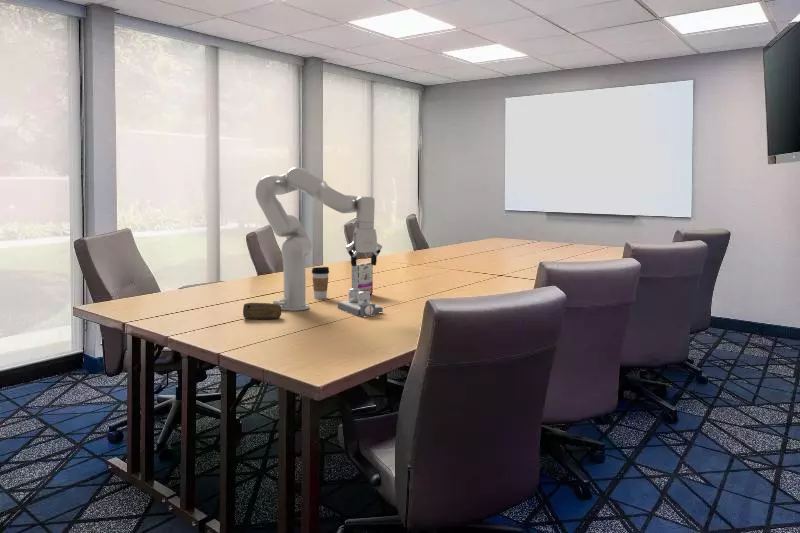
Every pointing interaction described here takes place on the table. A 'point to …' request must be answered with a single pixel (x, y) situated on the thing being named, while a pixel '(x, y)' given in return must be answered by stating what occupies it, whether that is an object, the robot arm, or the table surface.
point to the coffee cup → (320, 282)
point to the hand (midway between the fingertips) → (363, 265)
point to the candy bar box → (363, 277)
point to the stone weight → (261, 311)
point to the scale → (360, 308)
